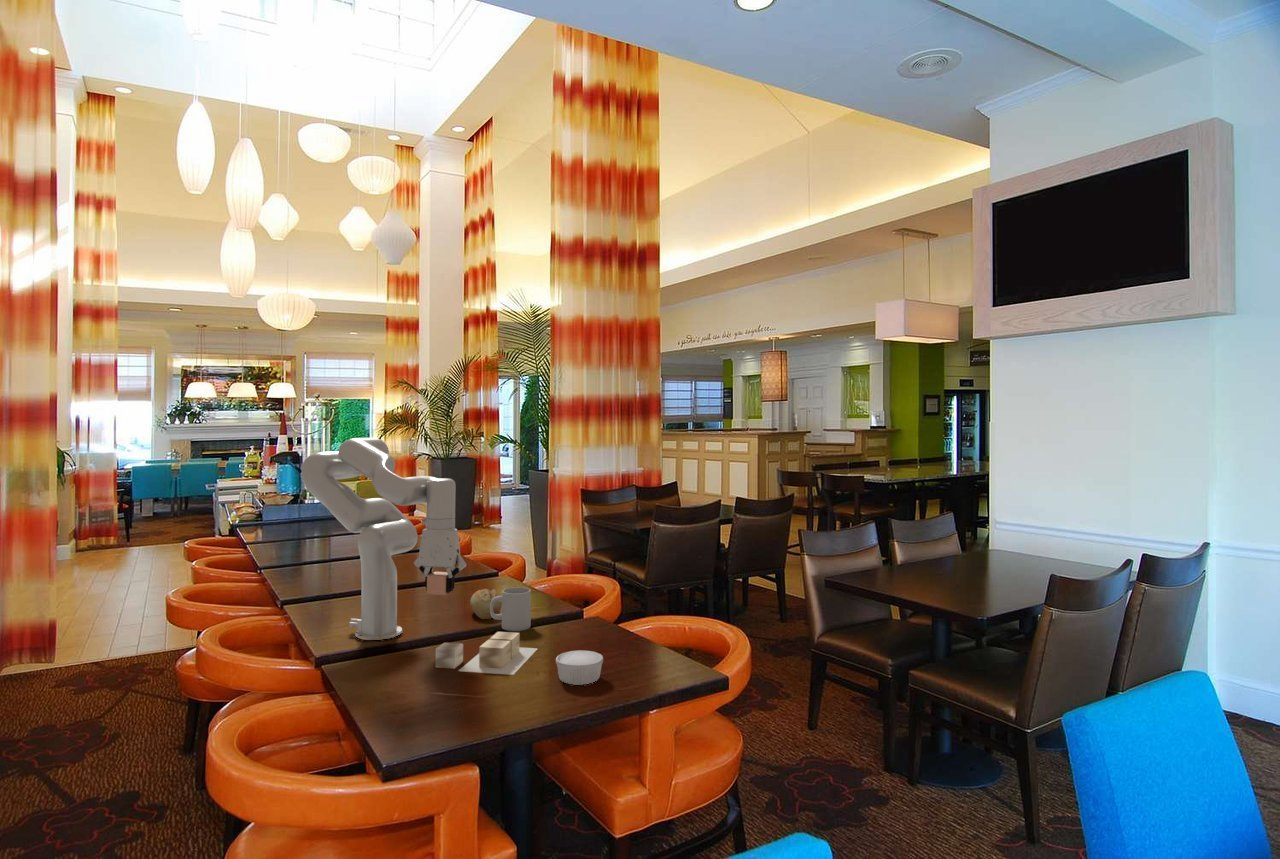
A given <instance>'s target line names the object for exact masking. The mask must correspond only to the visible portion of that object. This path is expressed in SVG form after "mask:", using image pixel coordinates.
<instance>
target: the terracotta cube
mask: <svg viewBox="0 0 1280 859" xmlns="http://www.w3.org/2000/svg"><path fill="white" fill-rule="evenodd" d="M447 578H448V574H447V571H434V572H433V571H432V573H431V574H429V575H427V591H426V595H437V596H446V595H447V594H448V593H447V592H446V579H447Z"/></svg>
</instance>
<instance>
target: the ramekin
mask: <svg viewBox="0 0 1280 859" xmlns="http://www.w3.org/2000/svg"><path fill="white" fill-rule="evenodd" d="M603 663H604V655H602V654H601V653H598V652H596V651H592V650H584V649H583V650H580V649H579V650H570V651H565V652H562V653H560V654H558V655H557V656H556V658H555V664H556V668H557V674H558V678H559V680H560V681H561V682H562V683H563V682H564V683H568V684H573V685H583V684H589V683H592V684H594V683H593V682H595V681H596V682H598V680H599V679H600V676H601V672H602V665H603ZM596 682H595V683H596ZM564 683H563V684H564ZM573 685H572V686H573ZM589 685H590V684H589Z"/></svg>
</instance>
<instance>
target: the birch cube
mask: <svg viewBox="0 0 1280 859" xmlns="http://www.w3.org/2000/svg"><path fill="white" fill-rule="evenodd" d="M463 662H464V643H461V642H460V643H459V642H443V643H442V644H440V645H439V646H437V647H436V648H435V668H437V669H438V668H440V669H454V670H455V669H456V668H458V666H460V665H461V664H462V663H463Z"/></svg>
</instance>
